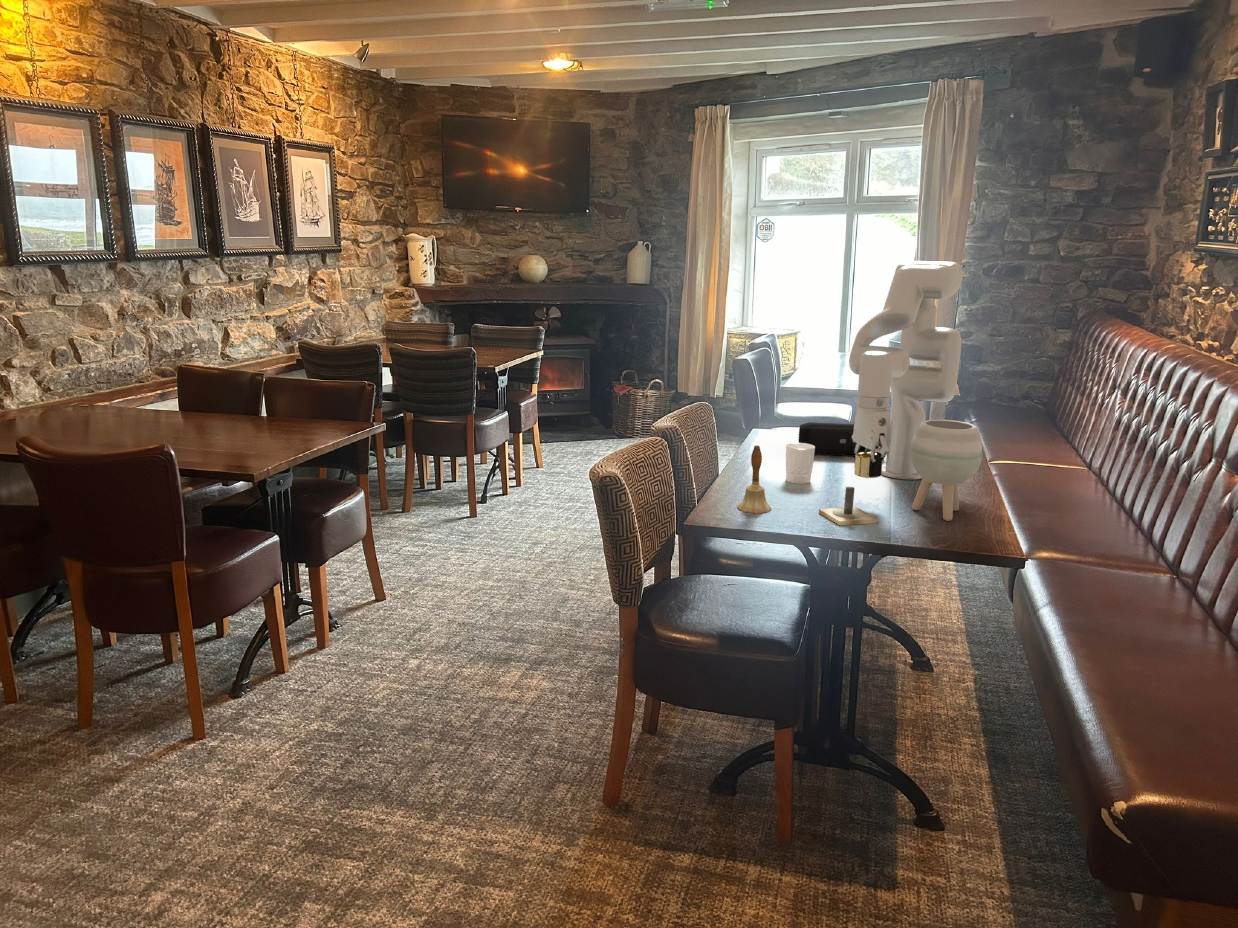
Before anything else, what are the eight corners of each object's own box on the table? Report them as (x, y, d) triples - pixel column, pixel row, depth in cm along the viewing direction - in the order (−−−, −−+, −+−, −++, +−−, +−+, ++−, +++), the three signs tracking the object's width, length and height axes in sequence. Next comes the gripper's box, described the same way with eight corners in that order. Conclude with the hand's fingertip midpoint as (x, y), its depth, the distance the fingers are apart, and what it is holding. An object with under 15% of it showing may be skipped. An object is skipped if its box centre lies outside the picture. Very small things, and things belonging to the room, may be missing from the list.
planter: (968, 507, 215) (979, 420, 210) (979, 526, 200) (991, 433, 195) (901, 502, 219) (910, 416, 213) (907, 520, 204) (917, 428, 198)
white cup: (812, 485, 233) (815, 449, 231) (783, 483, 235) (785, 448, 232) (812, 478, 241) (814, 443, 238) (783, 476, 242) (786, 442, 240)
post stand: (855, 510, 211) (857, 481, 209) (877, 522, 201) (880, 492, 200) (818, 512, 208) (821, 483, 206) (839, 525, 199) (841, 494, 197)
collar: (871, 470, 217) (873, 451, 216) (884, 476, 212) (886, 457, 210) (850, 472, 216) (851, 453, 214) (862, 478, 210) (864, 459, 209)
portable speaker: (799, 456, 267) (802, 425, 264) (797, 449, 276) (799, 419, 274) (883, 460, 264) (886, 428, 262) (878, 453, 273) (881, 422, 271)
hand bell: (763, 515, 206) (767, 451, 202) (731, 509, 210) (735, 446, 206) (776, 507, 212) (780, 444, 209) (745, 501, 217) (748, 440, 213)
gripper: (906, 408, 201) (900, 481, 206) (867, 394, 217) (862, 462, 222) (878, 410, 199) (872, 483, 205) (841, 396, 215) (836, 464, 221)
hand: (867, 472), depth 213 cm, fingers closed on collar, 6 cm apart
